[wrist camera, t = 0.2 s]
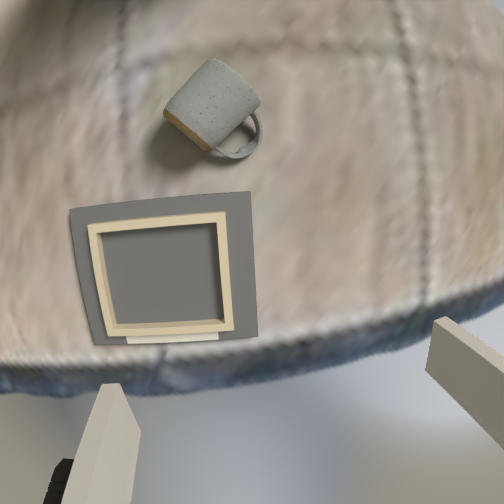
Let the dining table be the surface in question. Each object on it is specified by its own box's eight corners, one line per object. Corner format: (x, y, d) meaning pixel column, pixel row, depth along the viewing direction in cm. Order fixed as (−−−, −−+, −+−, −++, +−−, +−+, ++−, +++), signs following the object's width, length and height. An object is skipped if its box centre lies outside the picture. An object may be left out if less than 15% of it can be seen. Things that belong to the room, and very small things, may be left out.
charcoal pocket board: (74, 208, 35) (63, 210, 32) (249, 191, 37) (252, 192, 34) (98, 339, 39) (91, 349, 36) (256, 331, 41) (259, 342, 38)
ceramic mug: (163, 120, 34) (151, 106, 26) (209, 70, 33) (209, 46, 26) (230, 176, 36) (235, 175, 29) (276, 125, 36) (291, 114, 28)
